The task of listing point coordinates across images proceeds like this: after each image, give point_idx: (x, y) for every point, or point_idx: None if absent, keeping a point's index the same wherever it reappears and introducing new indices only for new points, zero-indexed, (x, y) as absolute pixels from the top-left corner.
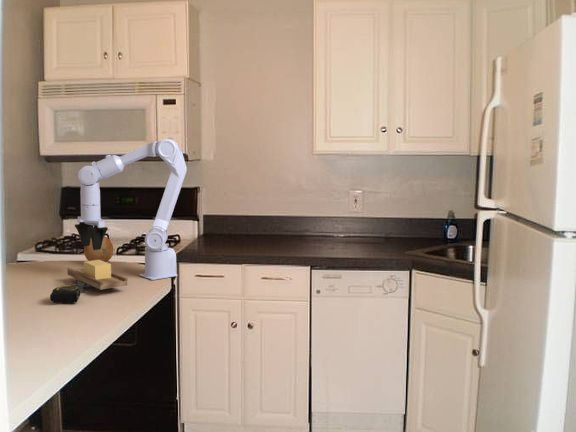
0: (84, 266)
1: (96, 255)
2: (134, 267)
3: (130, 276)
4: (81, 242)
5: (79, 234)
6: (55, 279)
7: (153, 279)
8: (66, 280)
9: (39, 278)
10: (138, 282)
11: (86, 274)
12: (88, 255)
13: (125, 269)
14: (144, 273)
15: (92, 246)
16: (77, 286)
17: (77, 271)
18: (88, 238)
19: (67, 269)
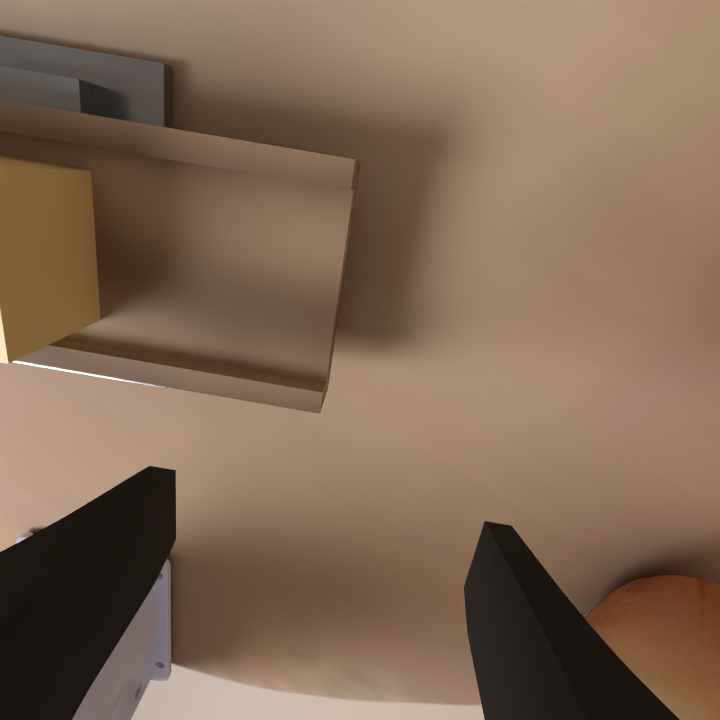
0: (4, 165)
1: (622, 627)
2: (380, 656)
3: (195, 522)
4: (534, 558)
5: (621, 681)
6: (497, 122)
7: (19, 540)
8: (394, 172)
9: (655, 27)
10: (29, 464)
11: (17, 159)
12: (695, 602)
13: (375, 604)
14: (162, 588)
15: (711, 701)
16: (77, 74)
17: (145, 146)
18: (490, 682)
19: (356, 160)
